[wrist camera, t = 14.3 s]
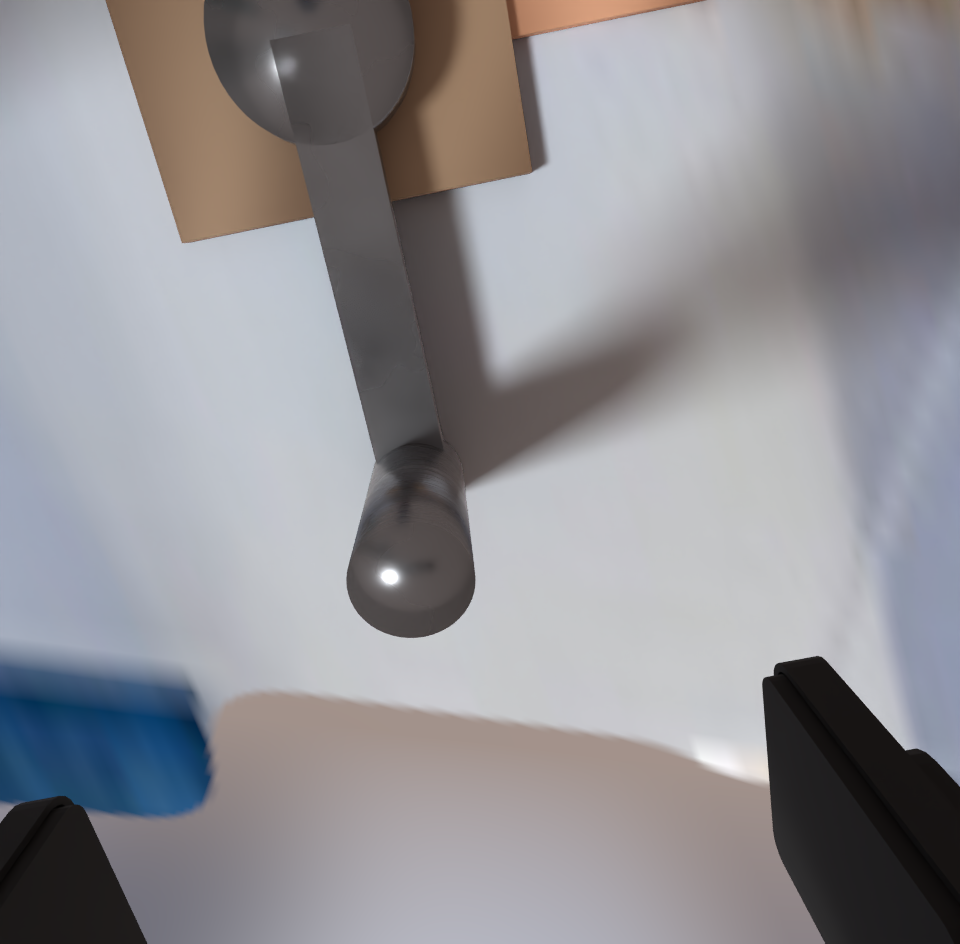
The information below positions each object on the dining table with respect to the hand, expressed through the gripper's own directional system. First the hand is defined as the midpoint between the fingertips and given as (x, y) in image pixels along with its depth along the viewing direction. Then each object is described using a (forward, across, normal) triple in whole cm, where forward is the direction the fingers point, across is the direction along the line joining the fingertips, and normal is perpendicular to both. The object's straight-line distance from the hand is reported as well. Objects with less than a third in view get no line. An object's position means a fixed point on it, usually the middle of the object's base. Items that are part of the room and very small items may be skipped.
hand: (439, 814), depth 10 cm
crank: (+13, +1, -7) cm, 15 cm away
